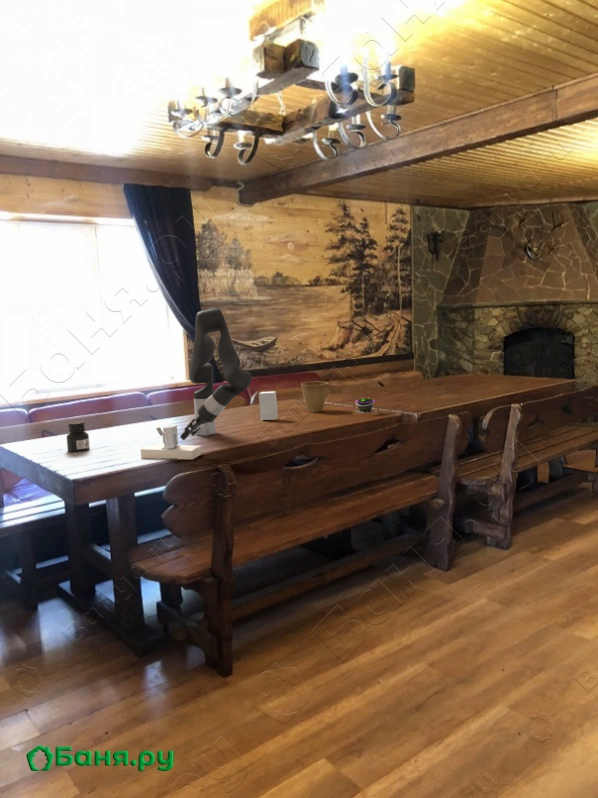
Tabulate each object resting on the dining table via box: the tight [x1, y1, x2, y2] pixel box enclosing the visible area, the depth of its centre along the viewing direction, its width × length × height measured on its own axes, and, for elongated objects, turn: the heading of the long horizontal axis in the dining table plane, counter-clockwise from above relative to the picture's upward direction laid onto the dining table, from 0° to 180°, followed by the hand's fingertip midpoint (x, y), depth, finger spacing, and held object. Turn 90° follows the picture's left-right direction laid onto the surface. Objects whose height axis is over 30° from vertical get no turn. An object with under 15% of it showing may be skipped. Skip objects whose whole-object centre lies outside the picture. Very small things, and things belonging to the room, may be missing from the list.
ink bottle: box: [66, 420, 90, 453], centre depth 269 cm, size 10×9×12 cm
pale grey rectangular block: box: [162, 424, 179, 450], centre depth 252 cm, size 5×4×12 cm
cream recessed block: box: [140, 444, 202, 461], centre depth 253 cm, size 9×22×4 cm, turn 75°
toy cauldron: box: [354, 396, 376, 413], centre depth 340 cm, size 15×15×11 cm
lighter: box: [155, 425, 164, 444], centre depth 277 cm, size 7×2×8 cm, turn 123°
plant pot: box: [300, 380, 329, 413], centre depth 351 cm, size 15×15×16 cm
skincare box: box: [258, 390, 279, 421], centre depth 328 cm, size 8×6×15 cm
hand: (186, 436), depth 250 cm, fingers open, 8 cm apart
